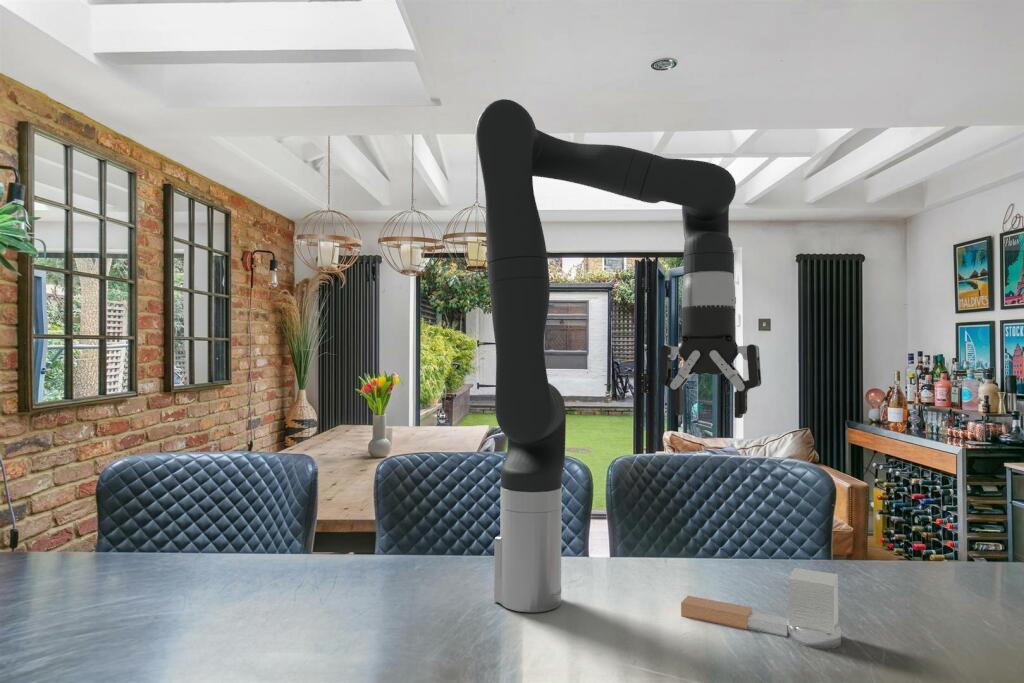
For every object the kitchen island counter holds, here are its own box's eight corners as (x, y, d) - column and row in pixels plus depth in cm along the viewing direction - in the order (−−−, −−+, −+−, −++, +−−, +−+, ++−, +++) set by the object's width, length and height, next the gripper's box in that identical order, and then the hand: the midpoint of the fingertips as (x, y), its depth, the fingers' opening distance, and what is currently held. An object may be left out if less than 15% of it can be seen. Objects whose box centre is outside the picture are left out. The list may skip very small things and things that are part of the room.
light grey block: (788, 625, 85) (788, 578, 86) (795, 612, 90) (794, 567, 90) (834, 634, 83) (833, 585, 83) (838, 620, 87) (837, 574, 88)
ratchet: (677, 619, 92) (677, 583, 93) (691, 605, 98) (690, 571, 98) (838, 653, 82) (837, 612, 82) (843, 635, 87) (842, 596, 88)
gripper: (652, 305, 97) (652, 415, 97) (753, 301, 90) (754, 420, 89) (668, 309, 104) (668, 412, 103) (764, 305, 96) (765, 417, 96)
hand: (708, 416), depth 96 cm, fingers open, 8 cm apart
